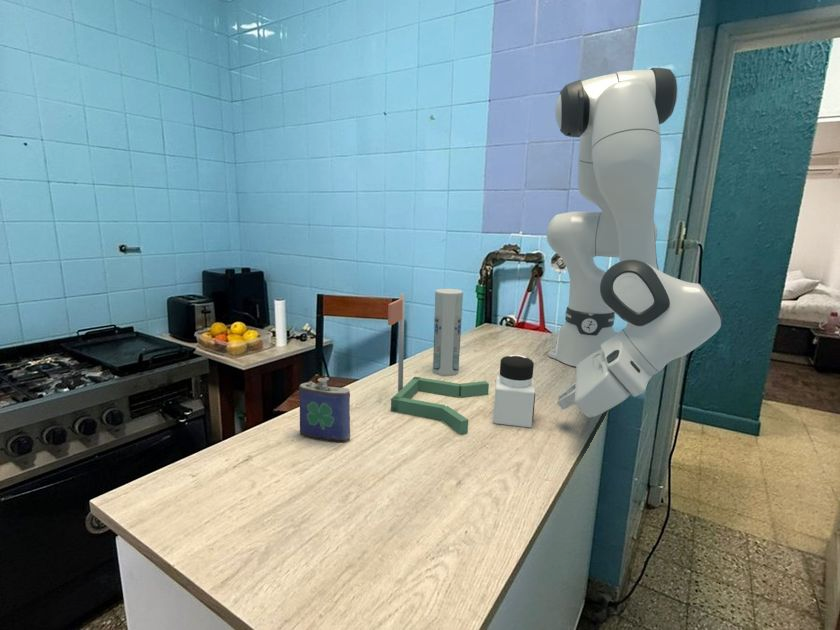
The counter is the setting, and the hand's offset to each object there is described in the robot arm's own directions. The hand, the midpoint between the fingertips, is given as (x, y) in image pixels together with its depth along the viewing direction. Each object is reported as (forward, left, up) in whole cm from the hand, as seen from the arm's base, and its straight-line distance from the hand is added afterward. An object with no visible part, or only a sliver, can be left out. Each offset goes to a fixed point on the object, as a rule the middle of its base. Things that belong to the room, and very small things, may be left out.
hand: (560, 403), depth 81 cm
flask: (+20, -37, -5) cm, 43 cm away
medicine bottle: (0, -8, -5) cm, 10 cm away
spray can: (-19, -27, -5) cm, 34 cm away
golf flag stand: (0, -23, -4) cm, 24 cm away
